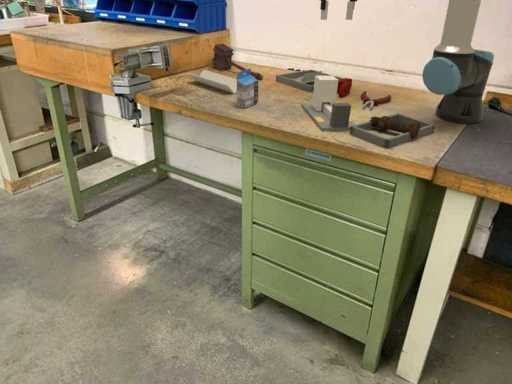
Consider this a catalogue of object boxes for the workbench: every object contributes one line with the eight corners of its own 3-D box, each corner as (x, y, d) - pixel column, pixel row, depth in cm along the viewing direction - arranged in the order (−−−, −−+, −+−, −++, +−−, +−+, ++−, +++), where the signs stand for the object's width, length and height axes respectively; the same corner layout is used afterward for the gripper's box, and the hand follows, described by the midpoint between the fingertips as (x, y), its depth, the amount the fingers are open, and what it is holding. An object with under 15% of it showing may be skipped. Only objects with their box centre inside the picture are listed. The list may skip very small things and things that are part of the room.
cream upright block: (312, 106, 149) (315, 75, 144) (329, 105, 150) (332, 75, 145) (316, 111, 144) (320, 79, 139) (334, 110, 145) (338, 79, 140)
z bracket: (204, 89, 185) (211, 78, 185) (242, 102, 169) (250, 90, 170) (187, 72, 175) (195, 60, 176) (226, 85, 160) (235, 71, 161)
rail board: (301, 106, 153) (303, 84, 149) (332, 105, 155) (335, 84, 151) (321, 131, 131) (324, 106, 127) (358, 130, 132) (362, 105, 129)
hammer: (221, 63, 207) (224, 43, 201) (265, 90, 190) (269, 69, 184) (210, 64, 203) (212, 44, 197) (254, 92, 186) (258, 71, 180)
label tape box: (245, 108, 148) (245, 73, 142) (235, 106, 150) (236, 72, 144) (258, 103, 155) (259, 69, 149) (249, 101, 157) (250, 67, 151)
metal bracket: (326, 68, 186) (323, 75, 173) (328, 80, 188) (325, 89, 176) (295, 74, 191) (290, 82, 178) (298, 86, 193) (292, 95, 180)
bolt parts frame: (433, 132, 133) (435, 124, 132) (386, 148, 120) (388, 140, 118) (396, 120, 142) (397, 113, 141) (349, 133, 129) (350, 126, 128)
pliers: (350, 109, 153) (351, 102, 152) (362, 96, 169) (363, 89, 168) (381, 114, 149) (383, 107, 148) (391, 100, 165) (392, 94, 164)
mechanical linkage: (342, 99, 164) (343, 86, 161) (325, 96, 167) (326, 83, 165) (356, 90, 176) (358, 78, 173) (340, 87, 179) (342, 76, 176)
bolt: (370, 131, 136) (415, 141, 128) (365, 127, 132) (411, 137, 124) (376, 114, 136) (422, 123, 127) (371, 109, 132) (418, 119, 123)
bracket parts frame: (346, 85, 182) (347, 79, 181) (310, 92, 170) (310, 86, 169) (311, 74, 197) (311, 69, 196) (275, 80, 185) (275, 75, 184)
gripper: (358, -41, 160) (351, 19, 169) (310, -46, 147) (305, 19, 156) (373, -42, 155) (366, 20, 164) (325, -48, 141) (319, 20, 150)
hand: (336, 19), depth 160 cm, fingers open, 13 cm apart
